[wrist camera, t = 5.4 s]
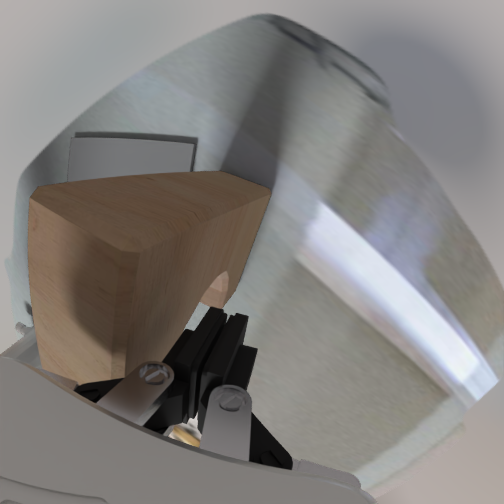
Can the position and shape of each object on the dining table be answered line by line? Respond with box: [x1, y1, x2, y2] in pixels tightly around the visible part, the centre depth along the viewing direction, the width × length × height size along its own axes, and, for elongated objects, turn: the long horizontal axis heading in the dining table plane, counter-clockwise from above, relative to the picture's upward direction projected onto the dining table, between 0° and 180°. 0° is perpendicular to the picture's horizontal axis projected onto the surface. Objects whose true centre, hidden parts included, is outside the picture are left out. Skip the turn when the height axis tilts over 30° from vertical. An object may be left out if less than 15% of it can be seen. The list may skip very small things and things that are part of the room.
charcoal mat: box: [67, 138, 196, 182], centre depth 29 cm, size 17×16×1 cm
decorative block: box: [28, 171, 271, 385], centre depth 18 cm, size 11×6×20 cm, turn 160°
